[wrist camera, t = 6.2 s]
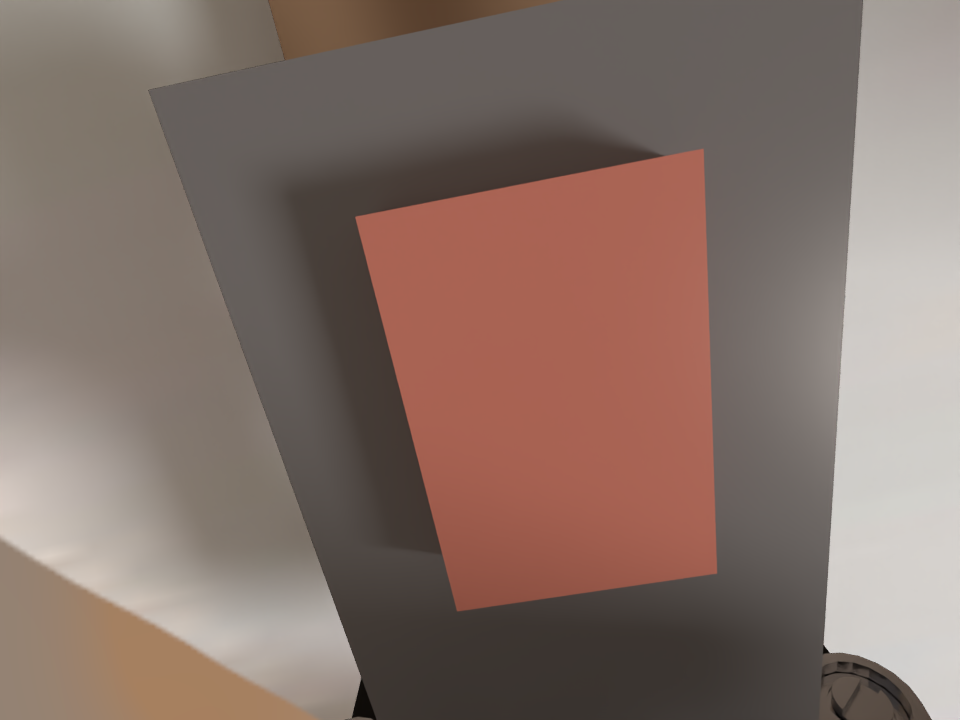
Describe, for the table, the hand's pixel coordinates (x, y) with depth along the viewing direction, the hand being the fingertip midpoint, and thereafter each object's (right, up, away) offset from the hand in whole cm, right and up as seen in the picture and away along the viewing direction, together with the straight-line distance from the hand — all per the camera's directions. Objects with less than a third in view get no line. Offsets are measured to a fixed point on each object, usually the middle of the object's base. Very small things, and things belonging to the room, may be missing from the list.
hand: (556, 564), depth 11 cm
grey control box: (0, 0, +1) cm, 1 cm away
